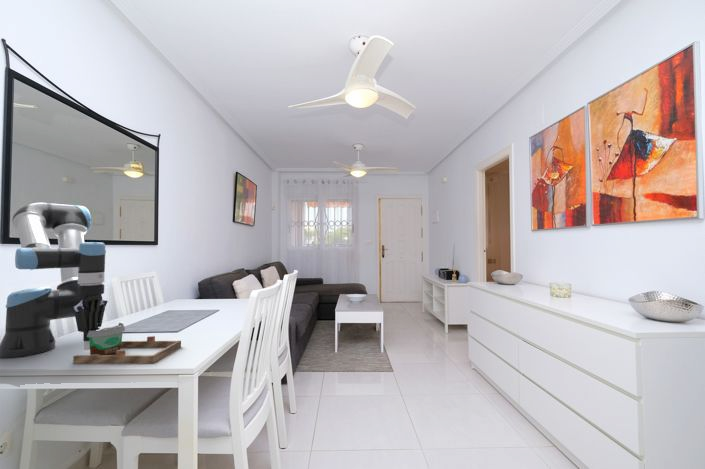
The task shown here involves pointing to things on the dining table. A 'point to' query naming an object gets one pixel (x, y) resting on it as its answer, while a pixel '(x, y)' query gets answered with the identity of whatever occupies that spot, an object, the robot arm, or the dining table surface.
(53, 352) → the dining table surface
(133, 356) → the slot rails
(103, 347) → the food container
